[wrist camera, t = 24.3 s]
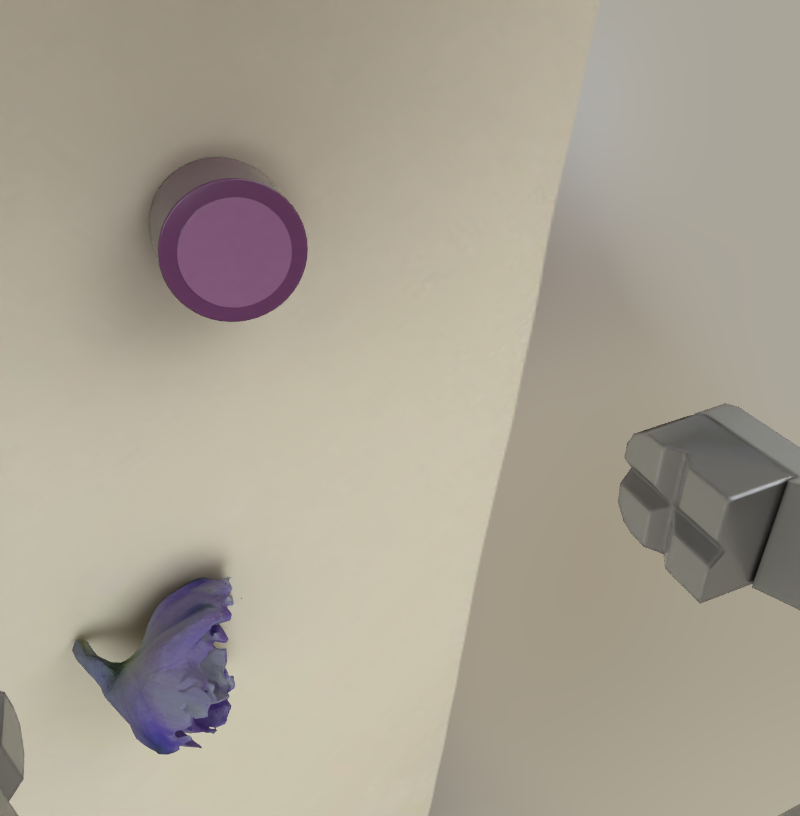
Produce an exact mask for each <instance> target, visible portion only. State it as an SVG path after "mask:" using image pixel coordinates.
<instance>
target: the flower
mask: <svg viewBox="0 0 800 816" xmlns="http://www.w3.org/2000/svg"><path fill="white" fill-rule="evenodd" d="M229 579H230V577H227V578H224V579H219V580H211V579H207V578H199V579H196V580H194V581H192V582H190V583H188V584H187V585H185V586H183V587H181V588H180V589H178V590H176V591H175V592H173V593H171V594H170V595H169V596H167V597H166V598H165V599H164V600H163V601H162V602H161V603H160V604H159V605H158V606H157V608H156V609H155V611H154V613H153V614H152V616H151V618H150V621H149V623H148V626H147V629H146V632H145V635H144V639H143V641H142V643H141V645H140V647H139V649H138V650H137V651H136V652H135V653H134V654H133V655H132V656H131V657H130V658H129V659H127V660H126V661H124V662H121V663H112V662H109V661H107V660H105V659H103V658H101V657H99V656H97V655H96V653H95V652H94V651H93V650H92V648H91V646H90V645H89V643H88V642H87V641H82V640H77V641H76V642H75V643H74V646H73V653H74V655H75V658H76V659H77V661H78V662H79V663H80V664H81V665H82V666H83V667H84V669H85V670H86V671H87V672H88V673H89V674H90V675H91V676H92V677H93V678H94V679H95V681H96V682H97V683H98V684H99V686H100V687H101V689H102V692H103V694H104V696H105V698H106V699H107V700H108V701H109V702H110V703H111V704H112V706H113V707H114V708H115V709H116V710H117V711H118V712H119V713H120V715H121V716H122V717H123V718H124V719H125V720H126V721H127V722H128V723H129V724H130V726H131V728H132V731H133V733H134V735H135V737H136V739H138V740H139V741H140V742H141V743H142V744H144V745H145V746H147V747H148V748H150V749H152V750H154V751H156V752H157V753H158V754H171V753H174V752H176V751H178V750H179V746H186V747H199V748H201V746H200V745H199V744H197V743H196V742H194V741H193V740H192V738H191V737H190V736H187V735H186V734H185V733H198V732H206V733H210V732H211V733H213V734H214V733H215V732H216V731H217V730H216V727H219V726H221V725H223V724H225V723H226V721H227V716H228V713H229V711H230V709H231V705H230V703H229V702H228V700H227V699H228V698H229V694H228V692H230V691H231V690H232V689H233V688H234V687H235V682H234V676H229V675H228V673H227V670H226V669H225V666H226V663H227V651H226V649H219V648H216V647H215V646H213V644H214V642H215V641H217V642H222V643H225V642H227V640H228V637H227V636H226V634H225V632H224V630H223V629H222V627H221V626H220V625H219V623H222V622H226V621H229V620H230V619H231V612H230V611H229V610H228V608H227V605H233V599H232V597H230V596H228V595H229V593H230V592H231V590H232V587H231V585H230V582H229ZM241 599H242V598H241ZM215 624H217V625H215ZM209 727H214V728H215V729H210V728H209Z"/></svg>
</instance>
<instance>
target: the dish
mask: <svg viewBox="0 0 800 816" xmlns="http://www.w3.org/2000/svg"><path fill="white" fill-rule="evenodd" d="M149 231H150V236H151V241H152V244H153V247H154V251H155V254H156V257H157V260H158V263H159V267H160V270H161V273H162V276H163V278H164V280H165V282H166V284H167V286H168V288H169V289H170V290H171V292H172V293H173V295H174V296H175V297H176V298H177V299H178V300H179V301H180V302H181V303H182V304H184V305H185V306H186V307H187V308H189V309H190V310H192V311H193V312H195V313H197V314H199V315H201V316H204V317H207V318H210V319H214V320H218V321H227V322H238V321H246V320H251V319H254V318H258V317H260V316H262V315H265V314H267V313H269V312H270V311H272V310H274V309H275V308H277V307H278V306H279V305H281V304H282V303H283V302H284V301H285V300H286V299H287V298H288V297H289V296H290V295H291V294H292V292H293V291H294V290H295V288H296V287H297V285H298V284H299V281H300V279H301V277H302V275H303V272H304V269H305V266H306V261H307V251H308V248H307V238H306V233H305V229H304V226H303V223H302V221H301V219H300V217H299V215H298V213H297V212H296V210H295V209H294V207H293V206H292V205H291V204H290V203H289V202H288V200H287V199H286V198H285V197H284V196H283V195H282V194H281V193H280V192H279V191H278V189H277V188H276V187H275V186H274V185H273V184H272V183H271V182H270V181H269V180H268V178H267V177H265V176H264V175H263V174H262V173H261V172H260V171H258V170H257V169H255V168H254V167H252V166H250V165H248V164H246V163H244V162H241V161H238V160H235V159H230V158H221V157H213V158H204V159H200V160H196V161H193V162H190V163H188V164H186V165H184V166H182V167H180V168H179V169H178V170H176V171H175V172H173V173H172V174H171V175H170V176H169V177H168V178H167V179H166V180H165V181H164V183H163V184H162V185H161V186H160V188H159V190H158V191H157V193H156V195H155V197H154V200H153V202H152V206H151V210H150V216H149Z"/></svg>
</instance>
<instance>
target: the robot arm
mask: <svg viewBox="0 0 800 816" xmlns="http://www.w3.org/2000/svg"><path fill="white" fill-rule="evenodd" d="M625 459H626V461H627V462H628V463H629V465H630V466H631V467H632V468H631V469H630V470H629V472H628V473H627V475H626V476H625V477H624V479H623V480H622V482H621V483H620V489H619V498H618V504H619V507H620V510H621V514H622V518H623V521H624V522H625V524H626V526H627V527H628V529H629V531H630V532H631V534H632V535H633V536H634V537H635V538H636V539H637V540H638V541H639V542H640V543H641V544H642V545H643V546H644V547H646V548H649V549H652V550H655V551H657V552H660V553H662V554H664V561H665V569H666V570H667V571H668V572H669V573H670V574H671V575H672V576H673V577H674V578H675V579H676V580H677V581H678V582H679V583H680V584H681V585H682V586H683V587H684V588H685V589H686V590H687V591H688V592H689V593H690V594H691V595H692V596H693V597H694V598H695V599H696V600H697V601H698V602H699V603H702V602H705V601H708V600H711V599H713V598H716V597H719V596H721V595H724V594H726V593H729V592H731V591H734V590H737V589H740V588H742V587H745V586H748V585H750V584H753V586H752V588H755V589H757V590H759V591H761V592H763V593H765V594H767V595H769V596H771V597H774V598H776V599H778V600H780V601H782V602H784V603H786V604H788V605H790V606H792V607H795V608H797V609H799V610H800V447H798V446H797V445H795V444H794V443H792V442H791V441H789V440H788V439H786V438H785V437H783V436H782V435H780V434H779V433H777V432H775V431H774V430H773V429H771V428H770V427H768V426H767V425H765V424H763V423H762V422H760V421H759V420H757V419H756V418H754V417H753V416H751V415H750V414H748V413H747V412H745V411H744V410H742V409H741V408H739V407H737V406H733V405H729V404H723V405H719V406H717V407H713V408H711V409H707V410H704V411H701V412H698V413H696V414H694V415H691V416H687V417H683V418H680V419H677V420H674V421H671V422H668V423H665V424H662V425H659V426H656V427H653V428H650V429H647V430H644V431H641V432H638V433H635V434H633V436H632V437H631V439H630V440H629V442H628V443H627V447H626V452H625ZM23 779H24V748H23V741H22V735H21V728H20V724H19V721H18V718H17V715H16V713H15V710H14V707H13V705H12V704H11V702H10V700H9V699H8V697H7V695H6V694H5V692H2V691H0V816H18V814H17V813H16V811H15V810H14V809H13V807H12V806H11V804H10V803H9V800H10V799H11V797H12V796H13V794H14V793H15V791H16V790H17V788H18V786H19V785H20V783H21V782H22V780H23ZM779 816H800V804H799V805H797V806H795V807H793V808H791V809H790V810H788V811H786V812H784V813H782V814H780V815H779Z"/></svg>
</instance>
